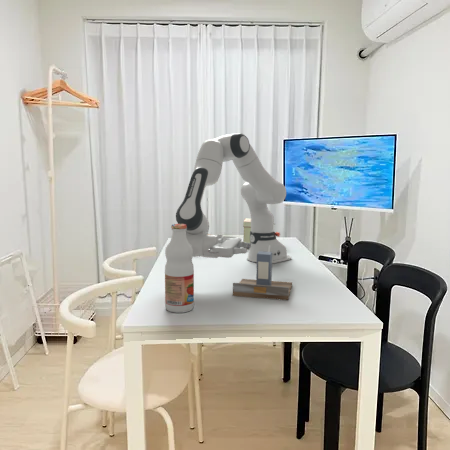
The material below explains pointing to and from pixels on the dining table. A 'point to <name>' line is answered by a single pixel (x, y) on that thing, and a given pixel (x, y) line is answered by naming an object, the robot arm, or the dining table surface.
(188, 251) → the fruit juice
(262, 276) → the carton
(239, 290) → the shelf board
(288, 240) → the dining table surface
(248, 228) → the gift box
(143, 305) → the dining table surface
